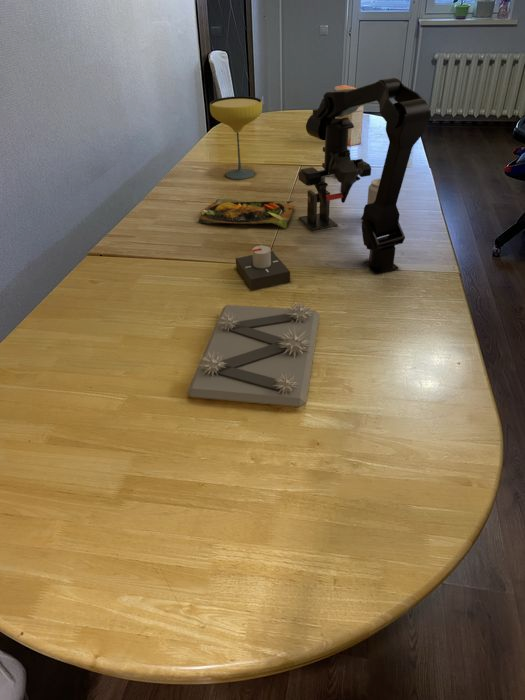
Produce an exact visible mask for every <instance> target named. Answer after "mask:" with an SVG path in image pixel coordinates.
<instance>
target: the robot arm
mask: <svg viewBox="0 0 525 700" xmlns="http://www.w3.org/2000/svg"><path fill="white" fill-rule="evenodd" d="M356 88H357V87H356ZM391 100H394V101H395V102H394V103H393V102H392V101H391ZM374 103H378V106H379V114H380V116H381V117H382V118H383V120H384V121H385V132H386V136H387V138H388V142H389V143H388V148H387V151H386V155H385V160H384V164H383V168H382V172H381V176H380V178H379V179H380V183H379V188H378V192H377V196H376V199H375V201H374V203H371V204H367V203H366V204H365V205H364V207H363V213H362V217H361V218H360V220H361V235H362V241H363V245H364V246H365V247H366V249H367V250H369V254H368V255H369V256H368V260H365V261H363V264H364V265H365V266H366V267H368V269H369V270H370V271H371V272H372V273H373V274H375V275H379V274H383V273H388V272H393V271H397V270H399V266H397V265H396V264H395V256H396V255H395V254H396V246H398V245H402V244H403V243H404V241H405V240H406V236H405V233H404V231H403V228H402V227H401V223H400V222H399V221H400V215H401V214H400V212H399V209H398V206H397V203H398V199H399V196H400V192H401V189H402V185H403V182H404V178H405V175H406V171H407V167H408V164H409V161H410V157H411V155H412V150H413V147H414V146H415V144H416V143H417V142H418V141H419V139H420V138H421V137H422V136H423V135H424V133H425V131H426V129H427V127H428V125H429V122H430V120H431V115H432V114H431V113H432V111H431V109H430V106H429V104H428V103H427V101H426V100H425V99H423V98H422V96H421V94H419V93H418V92H416V91H414V90H413V89H411V88H409V87H408V86H406V85H405V84H404V83H403V82H402V81H401V79H399V78H396V77H389V78H383V79H378V80H377V81H376V82H373V83H370V84H367V85H363V86H360V87H358V88H357V89H345V90H338V91H335V90H333V91H327V92H325V93H324V94H323V98H322V99H321V101H320V104H319V106H318V108H314V109H312V114H311V115H310V116H309V117H308V118H307V121H306V123H305V130H306V133H307V134H308V135H309V136H311V137H314V138H316V139H319V140H321V141H324V146H323V147H322V152H323V153H324V162H322V164H321V167H322V168H323V169H321V170H318V169H316V168H314V167H312V166H311V167H306V168H305V167H304V168H300V170H299V172H298V181H300V182H301V183H303V184H304V185H305V186H308V187H309V186H314V187H315V189H316V191H317V193H318V194H319V197H320V199H321V202H322V205H323V206H326V190H327V188H328V185H329V183H328V182H326V178H330V177H335V178H336V180H337V182H338V183H340V193H343V198H340V202H341V203H343V204H344V203H345V202H346V200H347V197H348V196H349V193H350V190H351V189H352V187H353V185H354V184H355V183H356V182H358V181H360V180H361V178H364V177H370V176H371V175H372V166H371V165H370V164H369V163H368V162H366V161H365V160H364V159H363V158H358V159H352V158H351V150H350V149H348V147H349V145H348V130H349V129H351V128H354V125H353V123H352V122H351V121H350V120H349V118H342V119H340V118H336V119H335V117H341V116H345V115H349V114H351V113H353V112H355V111H356V110H357V109H358V108H359V107H360V106H363V105H364V106H366V105H370V104H374Z"/></svg>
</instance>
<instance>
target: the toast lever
mask: <svg viewBox="0 0 525 700" xmlns="http://www.w3.org/2000/svg"><path fill="white" fill-rule="evenodd" d="M316 194H317V203H320V202H321V199H320V197H319V194H318V192H317V193H316ZM341 198H343V193H341V192H337V193H330V195H326V201H329V200H330V201H334V200H339V199H340V200H341Z"/></svg>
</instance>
